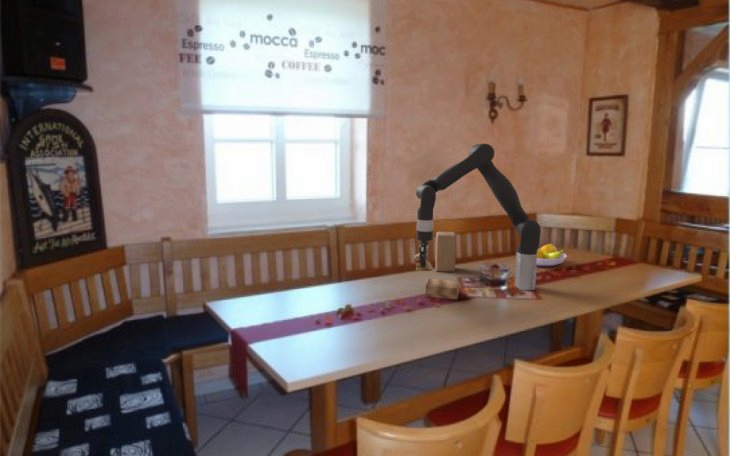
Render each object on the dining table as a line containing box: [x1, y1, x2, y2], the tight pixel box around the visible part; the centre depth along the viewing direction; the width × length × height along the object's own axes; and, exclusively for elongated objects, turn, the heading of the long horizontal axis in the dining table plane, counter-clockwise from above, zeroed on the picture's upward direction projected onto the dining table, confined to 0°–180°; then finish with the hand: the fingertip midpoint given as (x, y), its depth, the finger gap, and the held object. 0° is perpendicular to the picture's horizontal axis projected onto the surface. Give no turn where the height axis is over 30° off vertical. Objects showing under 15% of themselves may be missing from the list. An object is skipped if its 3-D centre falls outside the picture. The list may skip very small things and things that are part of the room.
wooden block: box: [435, 231, 457, 273], centre depth 281 cm, size 10×10×20 cm
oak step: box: [425, 277, 460, 300], centre depth 239 cm, size 14×12×5 cm
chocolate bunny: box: [413, 252, 434, 272], centre depth 239 cm, size 6×8×10 cm
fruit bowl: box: [536, 243, 568, 267], centre depth 295 cm, size 28×27×11 cm
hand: (423, 265), depth 240 cm, fingers closed on chocolate bunny, 4 cm apart
